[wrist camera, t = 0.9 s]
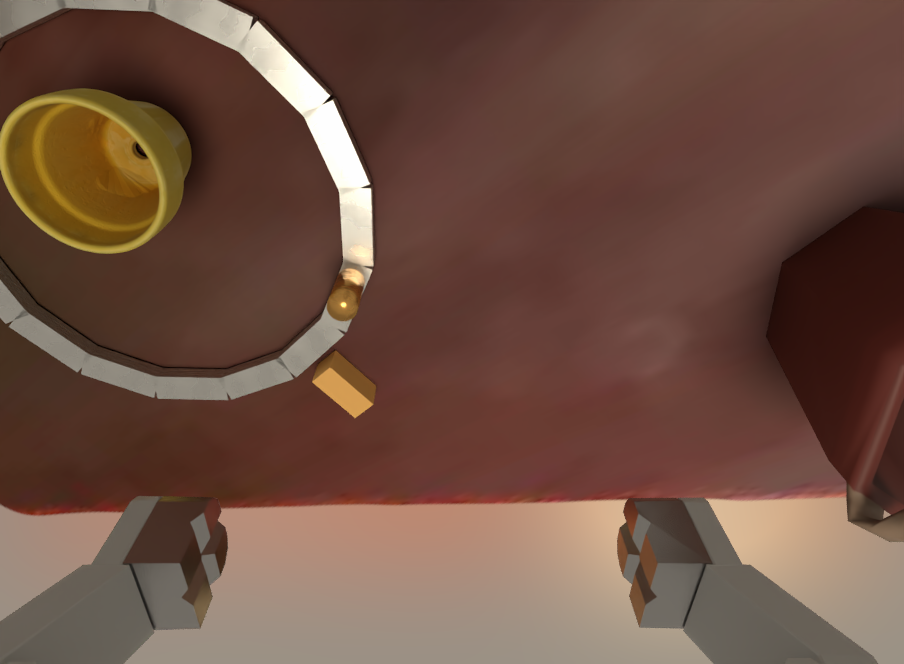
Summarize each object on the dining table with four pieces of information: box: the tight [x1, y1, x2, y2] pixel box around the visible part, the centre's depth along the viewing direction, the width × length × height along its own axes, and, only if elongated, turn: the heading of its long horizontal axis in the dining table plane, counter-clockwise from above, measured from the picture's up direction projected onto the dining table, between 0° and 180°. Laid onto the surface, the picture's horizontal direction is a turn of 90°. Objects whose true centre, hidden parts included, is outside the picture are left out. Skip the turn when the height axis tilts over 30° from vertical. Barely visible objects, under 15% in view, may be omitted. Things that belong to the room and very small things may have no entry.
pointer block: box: [312, 350, 376, 418], centre depth 55 cm, size 6×2×3 cm, turn 41°
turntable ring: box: [0, 0, 375, 400], centre depth 46 cm, size 35×35×6 cm
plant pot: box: [0, 88, 192, 254], centre depth 42 cm, size 10×10×10 cm
